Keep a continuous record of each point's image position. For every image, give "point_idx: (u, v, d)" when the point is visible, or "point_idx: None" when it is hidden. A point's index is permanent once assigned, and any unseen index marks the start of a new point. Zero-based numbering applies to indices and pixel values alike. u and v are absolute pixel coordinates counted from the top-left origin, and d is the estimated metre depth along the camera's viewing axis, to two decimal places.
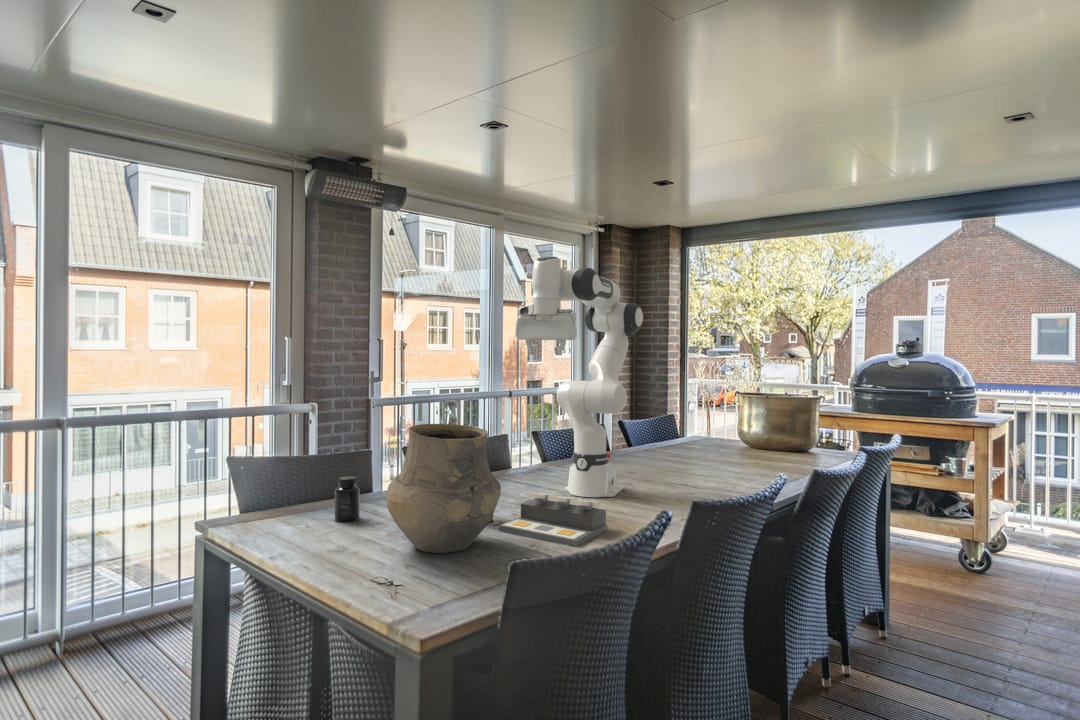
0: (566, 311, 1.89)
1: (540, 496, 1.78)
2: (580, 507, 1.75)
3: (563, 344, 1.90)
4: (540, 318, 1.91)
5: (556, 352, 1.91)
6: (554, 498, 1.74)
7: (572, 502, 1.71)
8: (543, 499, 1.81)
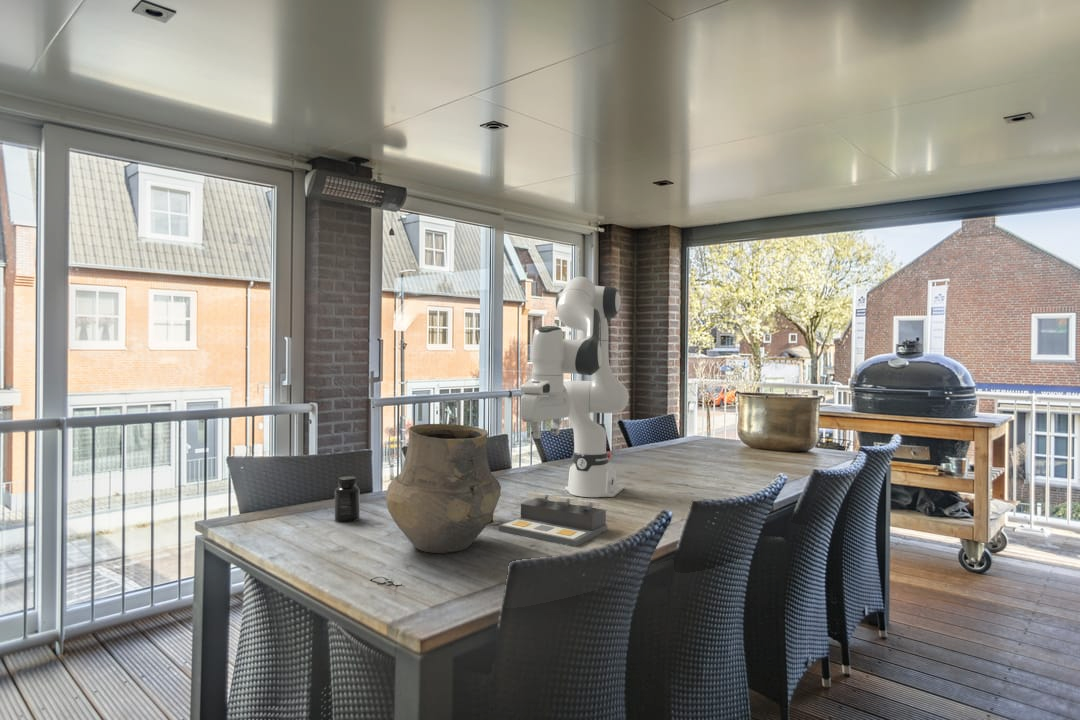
0: None
1: (540, 496, 1.78)
2: (580, 507, 1.75)
3: None
4: (556, 396, 1.71)
5: (556, 432, 1.76)
6: (554, 498, 1.74)
7: (572, 502, 1.71)
8: (543, 499, 1.81)
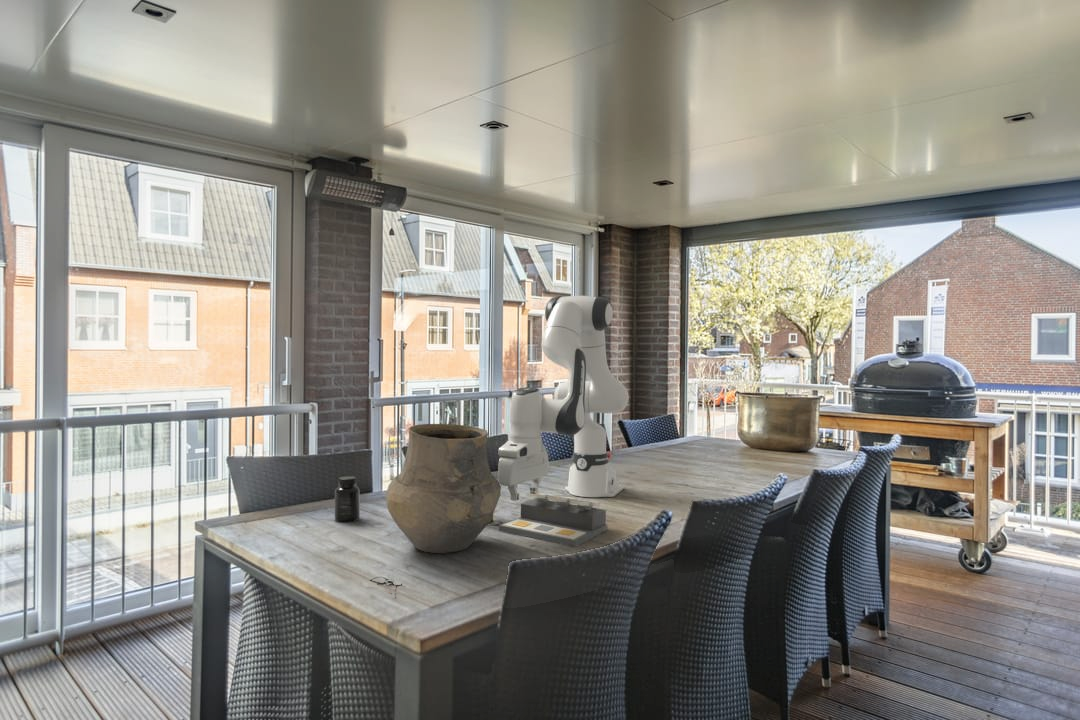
0: (540, 446, 1.80)
1: (540, 496, 1.78)
2: (580, 507, 1.75)
3: None
4: (534, 458, 1.73)
5: (535, 491, 1.78)
6: (554, 498, 1.74)
7: (572, 502, 1.71)
8: (543, 499, 1.81)
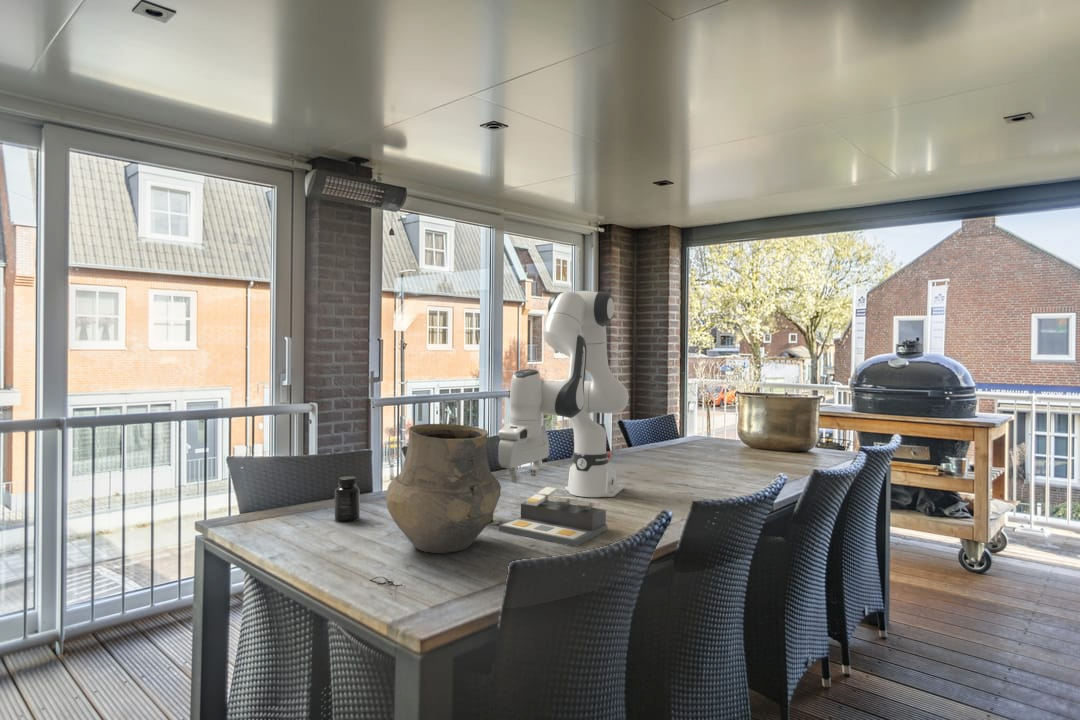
0: None
1: (539, 501, 1.78)
2: (580, 507, 1.75)
3: None
4: (534, 440, 1.73)
5: (536, 473, 1.78)
6: (554, 498, 1.74)
7: (572, 502, 1.71)
8: (543, 501, 1.81)
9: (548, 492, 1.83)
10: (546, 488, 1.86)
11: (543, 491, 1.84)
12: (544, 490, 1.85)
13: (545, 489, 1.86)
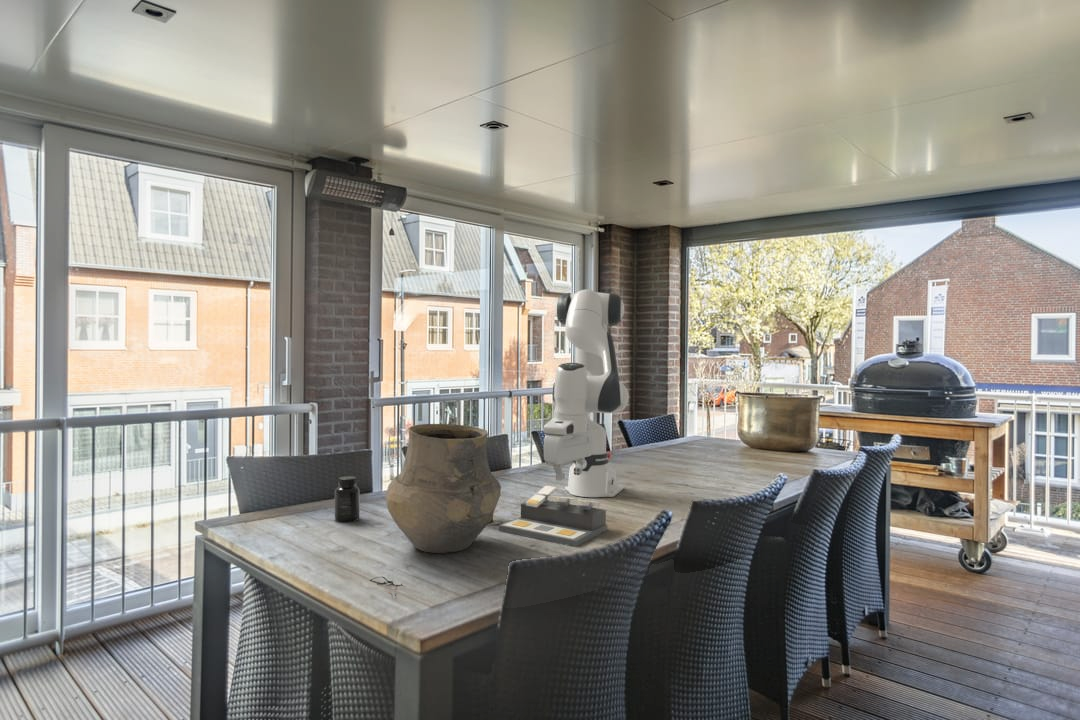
0: None
1: (539, 503, 1.78)
2: (580, 507, 1.75)
3: None
4: (580, 436, 1.65)
5: (579, 472, 1.70)
6: (554, 498, 1.74)
7: (572, 502, 1.71)
8: None
9: (548, 492, 1.83)
10: (546, 487, 1.86)
11: (543, 491, 1.84)
12: (544, 489, 1.85)
13: (545, 488, 1.86)
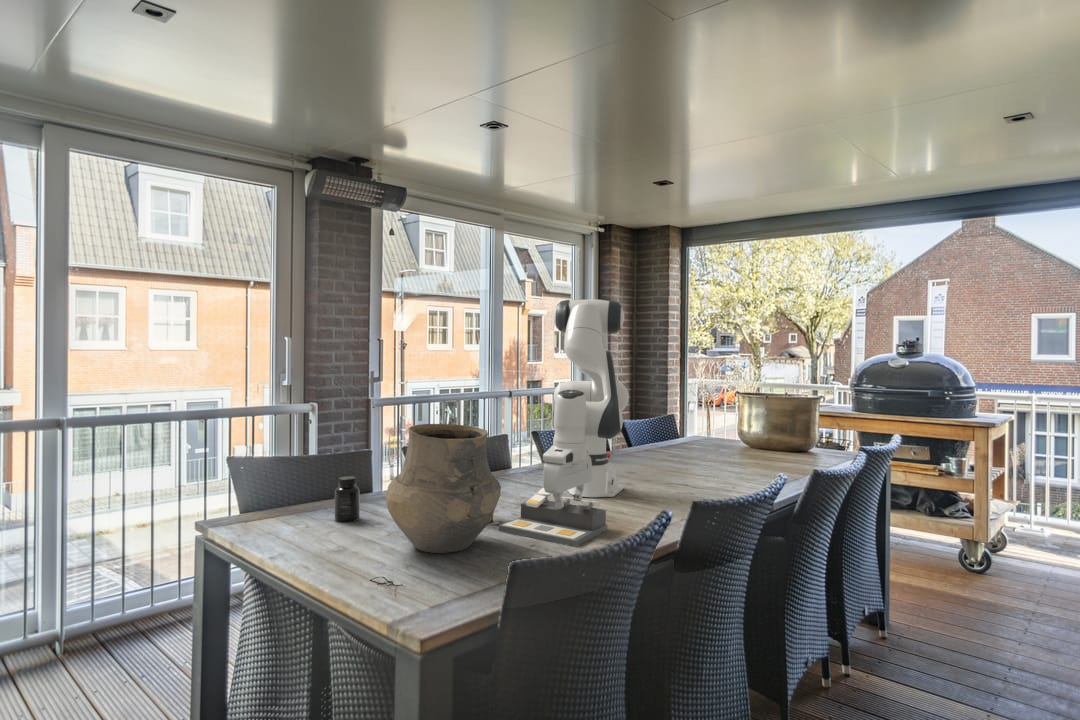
0: None
1: (539, 503, 1.78)
2: (580, 507, 1.75)
3: None
4: (579, 464, 1.65)
5: (579, 498, 1.71)
6: None
7: (572, 502, 1.71)
8: None
9: None
10: None
11: (543, 490, 1.84)
12: None
13: None
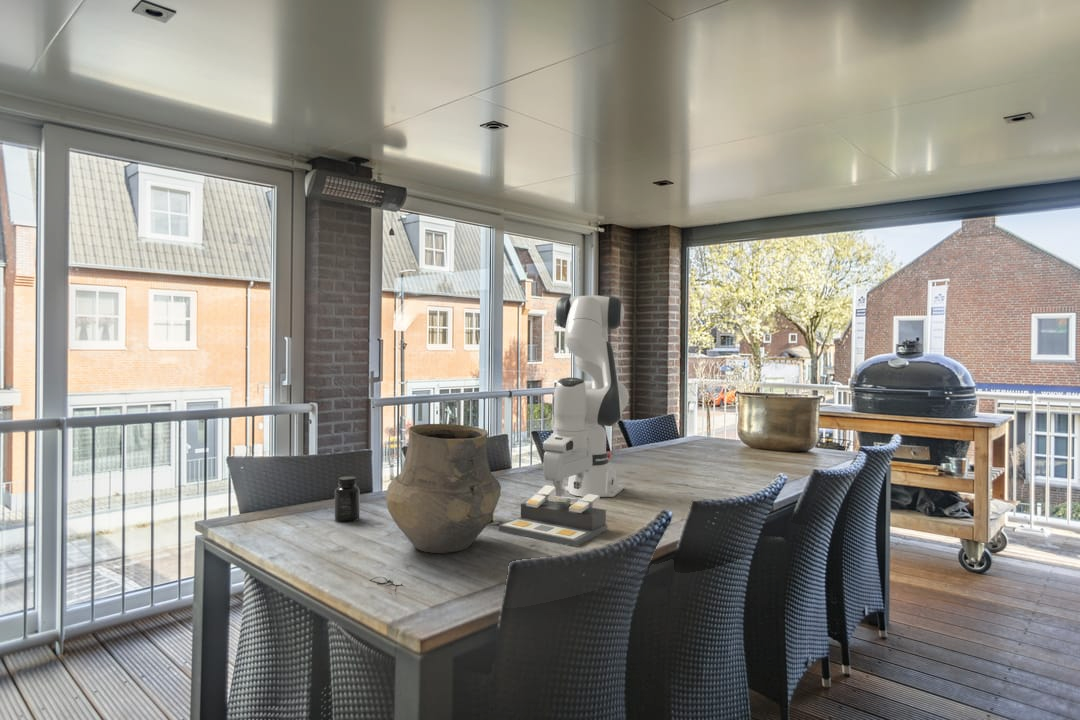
0: None
1: (539, 503, 1.78)
2: None
3: None
4: (580, 451, 1.66)
5: (579, 486, 1.71)
6: (554, 498, 1.74)
7: (571, 509, 1.71)
8: None
9: (548, 491, 1.83)
10: (546, 487, 1.86)
11: (543, 490, 1.84)
12: (544, 489, 1.85)
13: (545, 488, 1.86)
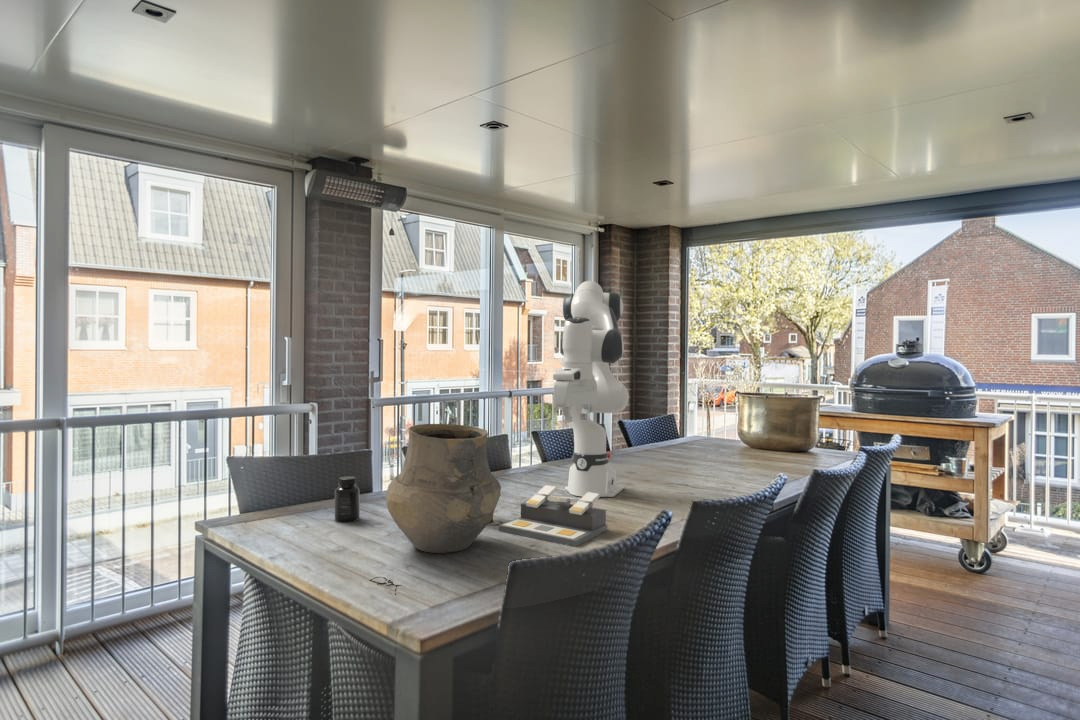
0: None
1: (539, 503, 1.78)
2: None
3: None
4: (586, 383, 1.82)
5: (585, 417, 1.88)
6: (554, 498, 1.74)
7: (572, 512, 1.71)
8: None
9: (548, 491, 1.83)
10: (546, 487, 1.86)
11: (543, 490, 1.84)
12: (544, 489, 1.85)
13: (545, 488, 1.86)
